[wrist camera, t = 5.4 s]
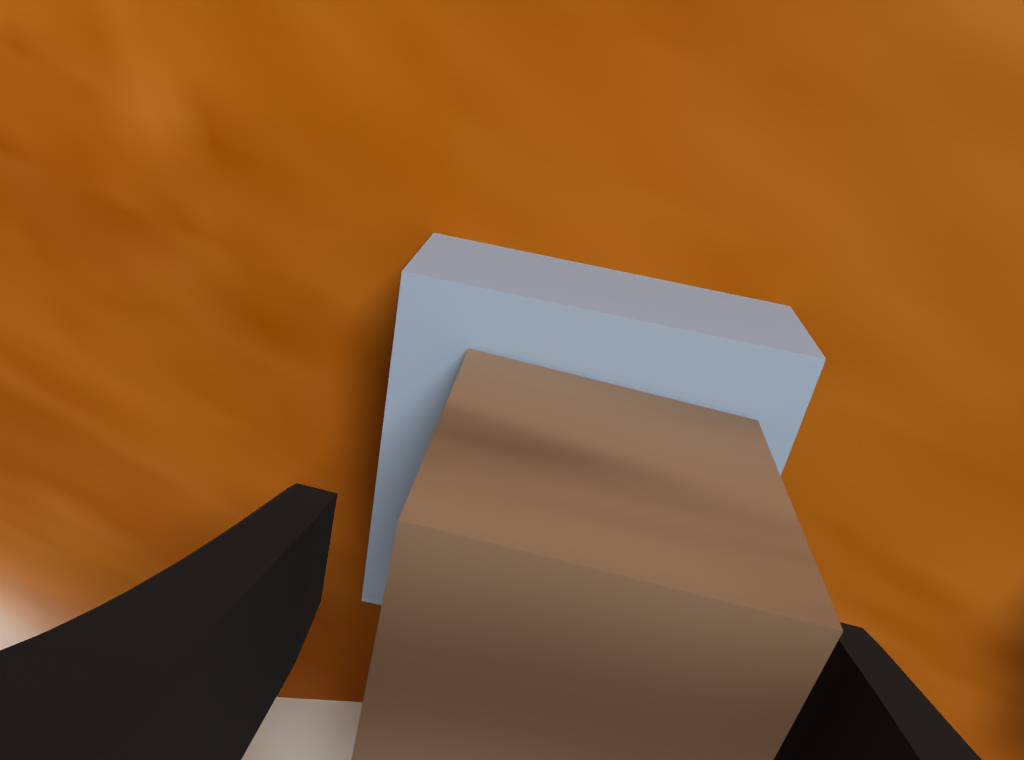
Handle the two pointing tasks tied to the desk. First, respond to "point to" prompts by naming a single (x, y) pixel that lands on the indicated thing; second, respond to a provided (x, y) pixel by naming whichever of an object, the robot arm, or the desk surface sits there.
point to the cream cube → (306, 730)
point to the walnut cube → (592, 582)
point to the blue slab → (575, 351)
